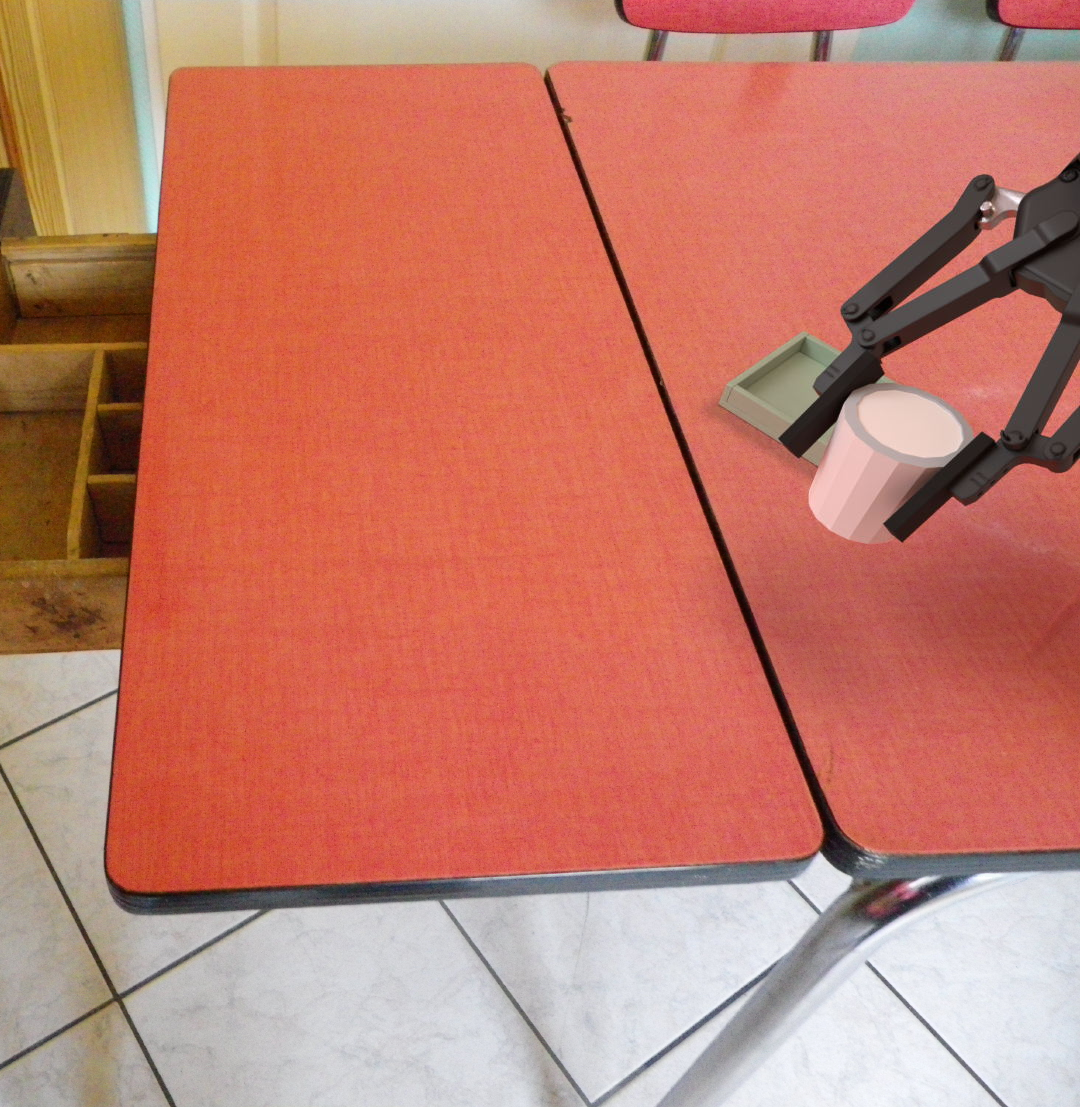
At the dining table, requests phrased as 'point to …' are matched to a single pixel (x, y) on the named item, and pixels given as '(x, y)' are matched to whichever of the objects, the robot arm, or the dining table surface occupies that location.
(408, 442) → the dining table surface
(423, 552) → the dining table surface
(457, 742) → the dining table surface
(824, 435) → the green tray
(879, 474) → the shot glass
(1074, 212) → the robot arm
